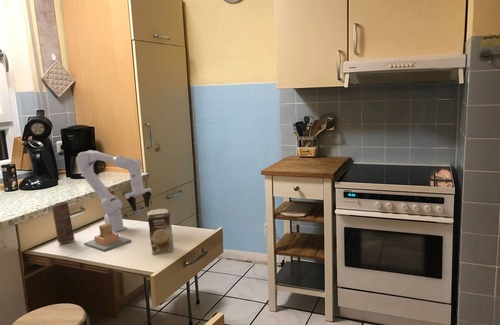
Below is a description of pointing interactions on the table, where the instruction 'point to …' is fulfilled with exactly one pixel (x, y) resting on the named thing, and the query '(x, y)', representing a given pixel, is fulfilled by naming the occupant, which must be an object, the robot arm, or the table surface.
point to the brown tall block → (63, 222)
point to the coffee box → (161, 233)
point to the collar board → (107, 242)
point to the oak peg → (105, 230)
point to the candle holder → (157, 211)
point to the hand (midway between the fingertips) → (140, 208)
